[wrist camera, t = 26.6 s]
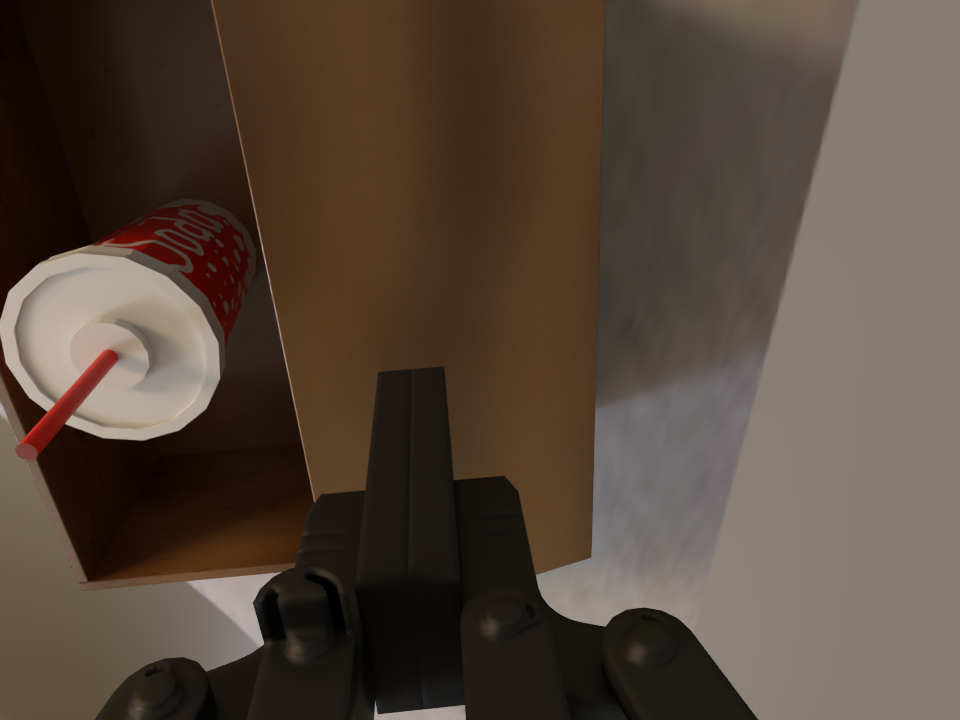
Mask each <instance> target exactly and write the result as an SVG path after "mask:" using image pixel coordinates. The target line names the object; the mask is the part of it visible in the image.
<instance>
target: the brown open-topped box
mask: <svg viewBox="0 0 960 720" xmlns="http://www.w3.org/2000/svg"><path fill="white" fill-rule="evenodd" d="M180 199H194V200H204V201H209V202H211V203H213V204H215V205H217V206H219V207H221V208H223V209H226V210H228V211H230V212H231V213H232V214H233V215H234V216H235V217H236V218H237V219H238V220H239V221H240V222H241V223H242V224H243V225H244V227H245V228H246V229H247V231H248V233H249V235H250V237H251V240H252V242H253V244H254V246H255V248H256V272H255V274H254V277H253V279H252V282H251V284H250V287H249V289H248V291H247V294H246V296H245V299H244V301H243V304H242V306H241V309H240V311H239V313H238V316H237V318H236V321H235V323H234V326H233V328H232V330H231V333H230V335H229V338H228V340H227V343H226V345H225V363H226V366H225V369H224V371H223V373H222V376H221V378H220V381H219V383H218V385H217V387H216V389H215V392H214V394H213V396H212V398H211V400H210V403H209V405H208V407H207V408H206V410H204V411H203V412H202V413H201V414H199V415H198V416H197V417H196V418H194V419H193V420H192V421H191V422H189V423H188V424H187V425H186V426H184V427H183V428H182V429H181V430H179V431H175V432H172V433H168V434H165V435H161V436H158V437H154V438H150V439H147V440H128V439H110V438H102V437H99V436H96V435H94V434H91V433H88V432H85V431H83V430H80V429H77V428H75V427H72V426H69V425H66V424H64V425H63V427H62V428H61V429H60V430H59V431H58V433H57V434H56V435H55V436H54V437H53V438H52V440H51V441H50V442H49V443H48V444H47V446H46V447H45V448H44V449H43V450H42V452H41V453H40V454H39V455H38V456H37V457H36V458H35V459H34V460H25V461H26V463H27V465H28V468H29V470H30V473H31V475H32V477H33V479H34V482H35V484H36V486H37V489H38V491H39V493H40V496H41V498H42V500H43V503H44V505H45V507H46V509H47V512H48V514H49V517H50V519H51V521H52V523H53V526H54V528H55V531H56V532H57V535H58V538H59V540H60V542H61V544H62V547H63V549H64V551H65V554H66V556H67V558H68V561H69V563H70V565H71V568H72V570H73V572H74V575H75V577H76V579H77V582H78V583H79V586H80V589H81V590H82V591H86V590H97V589H108V588H119V587H129V586H140V585H150V584H161V583H172V582H182V581H193V580H203V579H214V578H224V577H235V576H245V575H256V574H267V573H277V572H284V571H286V570H288V569H290V568H295V563H296V559H297V554H299V550H298V549H299V545H300V540H301V537H302V531H303V527H304V522H305V517H306V513H307V512H308V510H309V509H310V508H311V507H312V505H313V504H314V499H313V495H312V490H311V485H310V480H309V475H308V470H307V465H306V461H305V456H304V451H303V446H302V441H301V436H300V432H299V427H298V422H297V417H296V412H295V407H294V402H293V398H292V393H291V388H290V383H289V378H288V373H287V368H286V364H285V359H284V354H283V349H282V344H281V339H280V334H279V330H278V325H277V320H276V315H275V310H274V305H273V300H272V296H271V291H270V286H269V281H268V276H267V271H266V266H265V262H264V257H263V252H262V247H261V242H260V237H259V233H258V228H257V223H256V218H255V213H254V208H253V203H252V199H251V194H250V189H249V184H248V179H247V174H246V169H245V165H244V160H243V155H242V150H241V145H240V140H239V135H238V131H237V126H236V121H235V116H234V111H233V106H232V101H231V97H230V92H229V87H228V82H227V77H226V72H225V68H224V63H223V58H222V53H221V48H220V43H219V38H218V34H217V29H216V24H215V19H214V14H213V9H212V4H211V0H0V320H1V316H2V313H3V309H4V306H5V303H6V299H7V296H8V293H9V291H10V290H11V289H12V288H13V287H14V286H15V285H16V284H17V283H18V282H19V281H20V280H22V279H23V278H24V277H25V276H26V275H27V274H28V273H29V272H30V271H31V270H32V269H33V268H34V267H35V266H36V265H38V264H39V263H41V262H43V261H46V260H48V259H49V258H50V257H52V256H55V255H59V254H62V253H65V252H69V251H72V250H75V249H79V248H82V247H85V246H89V245H92V244H94V243H95V242H97V241H99V240H101V239H102V238H104V237H106V236H108V235H110V234H111V233H113V232H115V231H117V230H118V229H120V228H122V227H124V226H126V225H127V224H129V223H131V222H133V221H135V220H136V219H138V218H140V217H142V216H143V215H145V214H147V213H149V212H151V211H152V210H154V209H156V208H158V207H159V206H161V205H164V204H167V203H170V202H174V201H177V200H180ZM0 403H1V405H2V408H3V410H4V412H5V415H6V417H7V419H8V422H9V424H10V426H11V428H12V431H13V433H14V435H15V438H16V440H17V442H18V444H19V443H20V442H21V441H22V440H23V439H24V438H25V437H26V436H27V434H28V433H29V432H30V431H31V430H32V429H33V428H34V427H35V426H36V424H37V423H38V422H39V421H40V420H41V419H42V418H43V417H44V416H45V415H46V413H47V412H48V411H46V410H45V409H44V408H42V407H41V406H40V405H38V404H37V403H36V402H34V401H33V400H32V399H30V398H29V397H28V395H27V394H26V392H25V391H24V389H23V388H22V386H21V385H20V383H19V382H18V381H17V379H16V378H15V376H14V375H13V373H12V372H11V370H10V369H9V367H8V366H7V364H6V361H5V356H4V351H3V346H2V341H1V336H0Z"/></svg>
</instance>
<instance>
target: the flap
mask: <svg viewBox="0 0 960 720" xmlns="http://www.w3.org/2000/svg"><path fill="white" fill-rule="evenodd" d="M605 3H606V0H211V4H212V9H213V14H214V19H215V24H216V29H217V34H218V38H219V43H220V48H221V53H222V58H223V63H224V68H225V72H226V77H227V82H228V87H229V92H230V97H231V101H232V106H233V111H234V116H235V121H236V126H237V131H238V135H239V140H240V145H241V150H242V155H243V160H244V165H245V169H246V174H247V179H248V184H249V189H250V194H251V199H252V203H253V208H254V213H255V218H256V223H257V228H258V233H259V237H260V242H261V247H262V252H263V257H264V262H265V266H266V271H267V276H268V281H269V286H270V291H271V296H272V300H273V305H274V310H275V315H276V320H277V325H278V330H279V334H280V339H281V344H282V349H283V354H284V359H285V364H286V368H287V373H288V378H289V383H290V388H291V393H292V398H293V402H294V407H295V412H296V417H297V422H298V427H299V432H300V436H301V441H302V446H303V451H304V456H305V461H306V465H307V470H308V475H309V480H310V485H311V490H312V495H313V499H314V503H315V501H316V500H317V499H318V498H319V496H320V495H321V494H329V493H340V492H351V491H361V490H365V489H366V480H367V471H368V461H369V452H370V443H371V434H372V424H373V415H374V406H375V397H376V387H377V378H378V372H382V371H394V370H406V369H418V368H429V367H441V366H444V368H445V379H446V391H447V402H448V413H449V425H450V436H451V447H452V459H453V471H454V480H462V479H472V478H483V477H494V476H505V477H506V478H507V479H508V480H509V481H510V482H511V484H512V485H513V486H514V487H515V488H516V489H517V490H518V492H519V497H520V501H521V506H522V512H523V516H524V521H525V526H526V531H527V536H528V540H529V545H530V550H531V555H532V560H533V565H534V570H535V574H536V575H537V574H540V573H543V572H546V571H549V570H553V569H556V568H559V567H562V566H565V565H569V564H572V563H575V562H578V561H581V560H585V559H588V558H591V552H592V512H593V473H594V434H595V395H596V356H597V316H598V277H599V238H600V199H601V160H602V121H603V81H604V42H605Z"/></svg>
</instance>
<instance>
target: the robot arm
mask: <svg viewBox="0 0 960 720" xmlns="http://www.w3.org/2000/svg"><path fill="white" fill-rule="evenodd" d="M298 550H299V554H297V559H296V563H295V568H290V569H288V570H286V571H284V572H282V573H280V574H278V575H276V576H274V577H273V578H272V579H271V580H270V581H268V582H267V583H266V584H265V585H264V586H263V587H262V588H261V589H260V591H259V592H258V594H257V596H256V598H255V600H254V602H253V605H254V608H255V612H256V615H257V619H258V622H259V626H260V630H261V633H262V637H263V640H264V645H263V646H261V647H260V648H259V649H257V650H256V651H254V652H253V653H251V654H249V655H247V656H245V657H243V658H241V659H239V660H237V661H234V662H231V663H229V664H226V665H223V666H220V667H218V668H215V669H212V670H210V671H207V672H206V671H205V670H204V669H203V668H202V667H201V665H200V664H199V663H198V662H196V661H193V660H190V659H187V658H184V657H179V658H165V659H162V660H160V661H157V662H154V663H151V664H148V665H146V666H144V667H143V668H141V669H140V670H138V671H137V672H135V673H134V674H132V675H131V676H129V677H128V678H127V679H126V680H125V681H124V682H123V683H122V684H121V685H120V686H119V688H117V690H116V691H115V692H114V693H113V694H112V696H111V697H110V699H109V700H108V701H107V703H106V704H105V706H104V707H103V709H102V710H101V711H100V713H99V714H98V716H97V717H96V719H95V720H374V709H375V701H376V706H377V711H378V714H384V713H393V712H403V711H412V710H421V709H431V708H440V707H449V706H459V705H465V711H466V720H758V719H757V718H756V716H755V715H754V714H753V712H752V711H751V710H750V708H749V707H748V706H747V704H746V703H745V702H744V700H743V699H742V698H741V696H740V695H739V694H738V692H737V691H736V690H735V688H734V687H733V686H732V684H731V683H730V682H729V681H728V679H727V678H726V677H725V675H724V674H723V673H722V671H721V670H720V669H719V667H718V666H717V665H716V663H715V662H714V661H713V659H712V658H711V657H710V655H709V654H708V653H707V651H706V650H705V649H704V647H703V646H702V645H701V643H700V642H699V641H698V640H697V638H696V637H695V635H694V634H693V633H692V631H691V630H690V629H689V628H688V627H686V626H685V625H684V624H683V623H682V622H681V621H680V620H679V619H678V618H676V617H674V616H672V615H670V614H668V613H665V612H663V611H661V610H655V609H649V608H637V609H630V610H626V611H624V612H622V613H620V614H618V615H616V616H614V617H613V618H612V619H611V620H610V622H609V623H608V624H607V626H606V627H604V626H598V625H592V624H586V623H582V622H578V621H574V620H571V619H568V618H566V617H564V616H562V615H560V614H558V613H557V612H556V611H554V610H553V609H552V608H551V607H550V606H548V604H547V603H546V602H545V600H544V599H543V598H542V596H541V593H540V591H539V588H538V584H537V579H536V574H535V570H534V565H533V560H532V555H531V550H530V545H529V540H528V536H527V531H526V526H525V521H524V516H523V512H522V506H521V501H520V497H519V492H518V490H517V489H516V488H515V487H514V486H513V485H512V484H511V482H510V481H509V480H508V479H507V478H506V477H505V476H494V477H483V478H472V479H462V480H454V471H453V459H452V447H451V436H450V425H449V413H448V402H447V391H446V379H445V368H444V366H441V367H429V368H418V369H406V370H394V371H382V372H378V378H377V387H376V397H375V406H374V415H373V424H372V434H371V443H370V452H369V461H368V471H367V480H366V489H365V490H361V491H351V492H340V493H329V494H321V495H320V496H319V498H318V499H317V500H316V501H315V503H314V504H313V505H312V507H311V508H310V509H309V510H308V512H307V513H306V517H305V522H304V527H303V531H302V537H301V540H300V545H299V549H298Z"/></svg>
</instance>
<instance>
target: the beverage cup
mask: <svg viewBox="0 0 960 720" xmlns="http://www.w3.org/2000/svg"><path fill="white" fill-rule="evenodd" d="M255 272H256V248H255V246H254V244H253V242H252V240H251V237H250V235H249V233H248V231H247V229H246V228H245V227H244V225H243V224H242V223H241V222H240V221H239V220H238V219H237V218H236V217H235V216H234V215H233V214H232V213H231V212H230V211H228V210H226V209H223V208H221V207H219V206H217V205H215V204H213V203H211V202H209V201H204V200H194V199H180V200H177V201H174V202H170V203H167V204H164V205H161V206H159V207H158V208H156V209H154V210H152V211H151V212H149V213H147V214H145V215H143V216H142V217H140V218H138V219H136V220H135V221H133V222H131V223H129V224H127V225H126V226H124V227H122V228H120V229H118V230H117V231H115V232H113V233H111V234H110V235H108V236H106V237H104V238H102V239H101V240H99V241H97V242H95V243H94V244H92V245H89V246H85V247H82V248H79V249H75V250H72V251H69V252H65V253H62V254H59V255H55V256H52V257H50V258H49V259H48V260H46V261H43V262H41V263H39V264H38V265H36V266H35V267H34V268H33V269H32V270H31V271H30V272H29V273H28V274H27V275H26V276H25V277H24V278H23V279H22V280H20V281H19V282H18V283H17V284H16V285H15V286H14V287H13V288H12V289H11V290H10V291H9V293H8V296H7V299H6V303H5V306H4V309H3V313H2V316H1V320H0V336H1V341H2V346H3V351H4V356H5V361H6V364H7V366H8V367H9V369H10V370H11V372H12V373H13V375H14V376H15V378H16V379H17V381H18V382H19V383H20V385H21V386H22V388H23V389H24V391H25V392H26V394H27V395H28V397H29V398H30V399H32V400H33V401H34V402H36V403H37V404H38V405H40V406H41V407H42V408H44V409H45V410H46V411H48V412H47V413H46V415H45V416H44V417H43V418H42V419H41V420H40V421H39V422H38V423H37V424H36V426H35V427H34V428H33V429H32V430H31V431H30V432H29V433H28V434H27V436H26V437H25V438H24V439H23V440H22V441H21V442H20V443H19V444H18V445H17V447H16V449H15V450H16V453H17V455H18V456H19V457H20V458H22V459H24V460H34V459H35V458H36V457H37V456H38V455H39V454H40V453H41V452H42V450H43V449H44V448H45V447H46V446H47V444H48V443H49V442H50V441H51V440H52V438H53V437H54V436H55V435H56V434H57V433H58V431H59V430H60V429H61V428H62V427H63V425H64V424H66V425H69V426H72V427H75V428H77V429H80V430H83V431H85V432H88V433H91V434H94V435H96V436H99V437H102V438H110V439H128V440H147V439H150V438H154V437H158V436H161V435H165V434H168V433H172V432H175V431H179V430H181V429H182V428H183V427H184V426H186V425H187V424H188V423H189V422H191V421H192V420H193V419H194V418H196V417H197V416H198V415H199V414H201V413H202V412H203V411H204V410H206V408H207V407H208V405H209V403H210V400H211V398H212V396H213V394H214V392H215V389H216V387H217V385H218V383H219V381H220V378H221V376H222V373H223V371H224V369H225V366H226V363H225V345H226V343H227V340H228V338H229V335H230V333H231V330H232V328H233V326H234V323H235V321H236V318H237V316H238V313H239V311H240V309H241V306H242V304H243V301H244V299H245V296H246V294H247V291H248V289H249V287H250V284H251V282H252V279H253V277H254V274H255Z"/></svg>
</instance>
